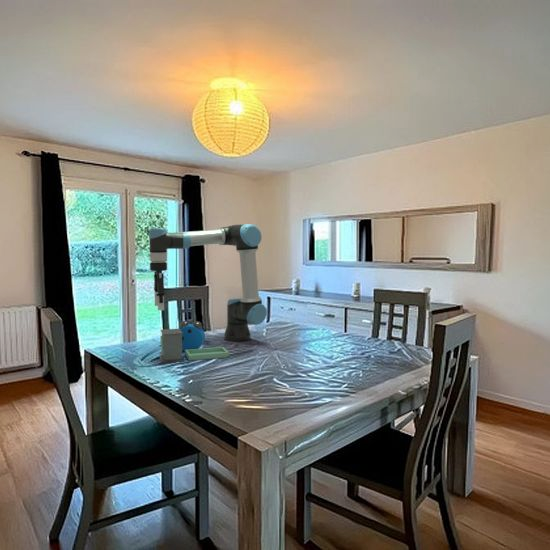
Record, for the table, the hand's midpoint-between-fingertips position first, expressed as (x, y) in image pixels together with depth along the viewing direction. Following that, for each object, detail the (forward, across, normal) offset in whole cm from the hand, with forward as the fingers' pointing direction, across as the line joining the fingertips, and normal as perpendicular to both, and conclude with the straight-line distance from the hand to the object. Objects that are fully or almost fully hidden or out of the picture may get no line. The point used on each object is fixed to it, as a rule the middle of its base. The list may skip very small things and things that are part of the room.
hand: (159, 307), depth 189 cm
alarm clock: (+24, -9, +16) cm, 30 cm away
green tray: (+24, +3, +21) cm, 32 cm away
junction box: (+24, +3, +5) cm, 24 cm away
